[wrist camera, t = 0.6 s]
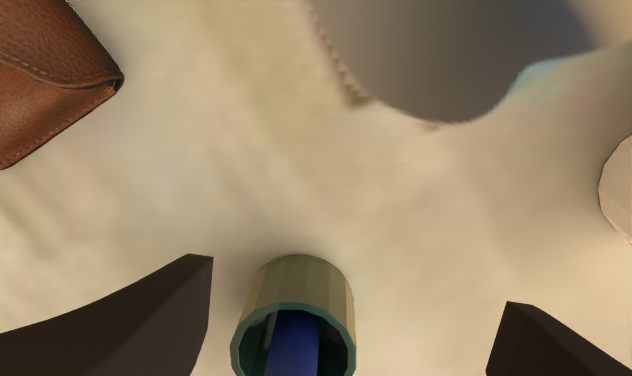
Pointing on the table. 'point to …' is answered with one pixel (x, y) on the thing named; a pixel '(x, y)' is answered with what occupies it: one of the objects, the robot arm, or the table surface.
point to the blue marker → (294, 344)
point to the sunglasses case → (47, 74)
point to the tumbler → (297, 294)
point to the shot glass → (618, 189)
